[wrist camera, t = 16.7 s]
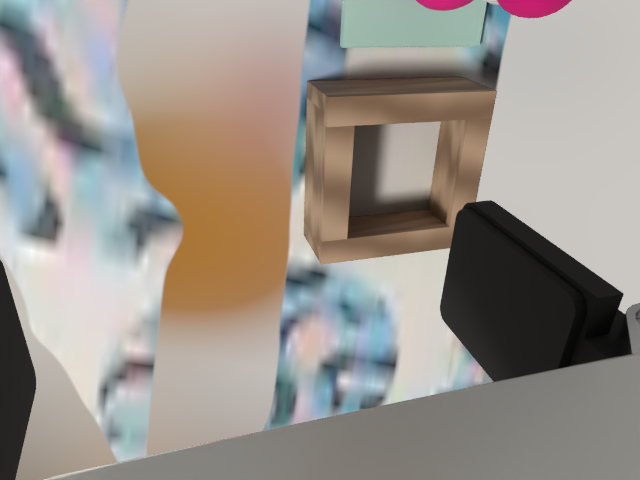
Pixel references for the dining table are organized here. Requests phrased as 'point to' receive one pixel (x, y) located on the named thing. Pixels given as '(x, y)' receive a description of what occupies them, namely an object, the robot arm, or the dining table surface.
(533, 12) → the pepper mill
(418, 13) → the green mat
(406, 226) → the box
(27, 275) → the dining table surface
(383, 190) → the dining table surface
